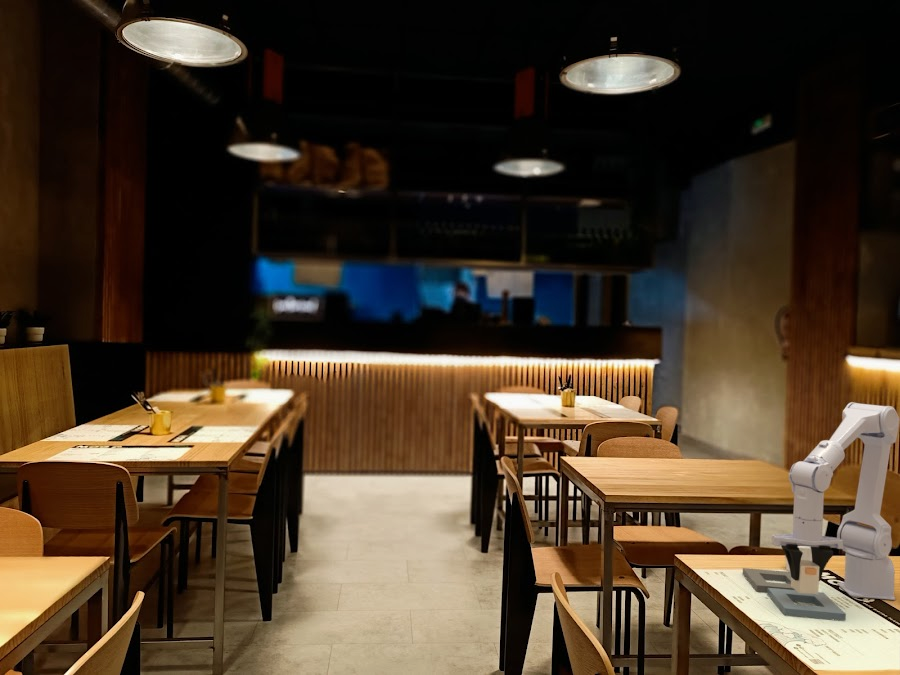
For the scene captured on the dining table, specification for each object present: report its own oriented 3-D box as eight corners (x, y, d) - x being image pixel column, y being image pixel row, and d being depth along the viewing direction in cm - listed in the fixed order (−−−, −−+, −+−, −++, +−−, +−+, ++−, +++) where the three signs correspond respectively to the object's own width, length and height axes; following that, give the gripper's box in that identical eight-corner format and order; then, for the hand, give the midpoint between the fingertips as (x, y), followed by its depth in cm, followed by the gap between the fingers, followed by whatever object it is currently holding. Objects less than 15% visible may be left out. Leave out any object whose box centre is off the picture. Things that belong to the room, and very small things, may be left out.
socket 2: (823, 599, 154) (823, 592, 154) (845, 621, 142) (845, 613, 142) (767, 594, 156) (767, 587, 156) (784, 615, 144) (784, 608, 144)
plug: (809, 587, 151) (810, 560, 151) (820, 595, 146) (821, 567, 146) (790, 586, 151) (791, 559, 151) (801, 594, 146) (802, 566, 146)
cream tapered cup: (806, 567, 175) (807, 540, 175) (818, 576, 169) (819, 548, 168) (779, 565, 176) (780, 538, 176) (789, 575, 169) (790, 547, 169)
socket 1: (794, 578, 167) (794, 572, 167) (812, 596, 155) (812, 590, 155) (742, 573, 169) (742, 567, 169) (756, 591, 157) (756, 585, 157)
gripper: (831, 514, 152) (829, 574, 152) (766, 511, 153) (764, 571, 153) (849, 522, 145) (846, 586, 145) (780, 519, 146) (778, 582, 146)
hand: (805, 579), depth 149 cm, fingers closed on plug, 4 cm apart
